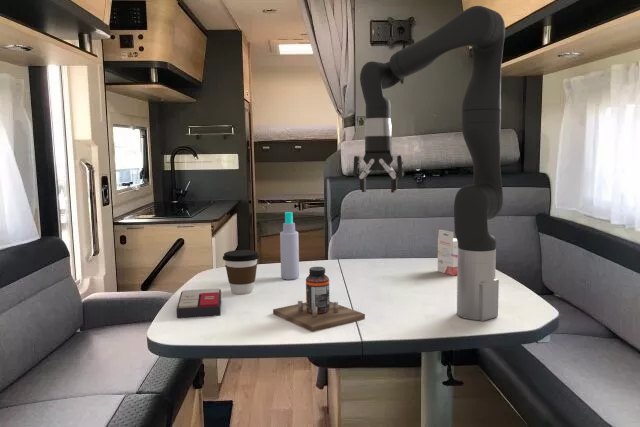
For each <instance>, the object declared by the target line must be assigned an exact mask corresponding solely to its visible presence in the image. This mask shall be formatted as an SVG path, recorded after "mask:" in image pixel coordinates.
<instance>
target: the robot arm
mask: <svg viewBox="0 0 640 427" xmlns="http://www.w3.org/2000/svg"><path fill="white" fill-rule="evenodd" d="M505 25H506V24H505V20H504V18H503V16H502V15H501V14H500V13H499V12H498V11H496V10H495V9H492V8H489V7H486V6H482V5H475V6H474V5H473V6H471V7H468V8H467V9H464V10H463V11H462V12H460V13H459V14H457V15H456V16H454V18H452V19H450V20H449V21H448V22H447V23H446V24H444V25H442V26H441V27H439V28H438V29H437V30H435V31H433V32H432V33H430V34H429V35H427V36H425V37H424V38H422V39H421V40H418V41H416V42H414V43H412V44H411V45H408V46H406V47H404V48H402V49H399V50H398V51H396V52H395V53H393V54H392V55H391V56H390V58H389V61H387V62H379V61H372V60H371V61H367V62H365V64H364V65H362V68H361V71H360V74H359V83H360V88H361V92H362V96H363V99H364V103H365V123H364V156H360V155H355V156H353V168H352V169H353V170H352V172H353V174H352V175H353V177H355V178H358V179H359V190H360V191H361V192H362V193H367V179H366V177H367V176H368V175H369V173H371V171H372V172H377V171H379V172H385V171H386V173H387V174H389V176H390V177H391V179H390V192H391V193H395V192H396V191H397V190H398V179H399V178H402V177H404V175H405V169H404V168H405V167H404V156H403V155H402V154H399V155H393V154H392V153H393V150H392V148H393V147H392V146H393V144H392V142H393V141H392V139H393V138H392V136H393V130H392V121H391V120H392V113H391V111H392V110H391V109H392V108H391V101H390V98H388V97H386V95H384V93H383V92H384V91H383V90H386V89H389V88H392V87H394V86H396V85H397V84H398V83H400V81H403V80H404V79H405V78H406V77H409V76H412V75H414V74H415V73H418V72H420V71H422V70H423V69H425V68H427V67H429V66H431V65H432V64H433V63H434V62H435V61H436V60H438V59H439V58H440V57H441V56H443V55H444V54H446V53H448V52H450V51H452V50H456V49H459V48H462V47H463V48H464V47H467V46H468V47H471V49H472V70H471V72H472V73H471V77H470V80H469V82H468V85H467V88H466V90H465V93H464V97H463V100H462V104H461V133H462V136H463V137H462V138H463V139H464V142H465V145H466V147H467V150H468V153H469V154H470V158H471V161H472V167H473V169H472V171H473V179H472V180H473V183H472V184H466V185H464V186H462V187H461V188H460V189H459V190H458V191H457V192H456V193H455V197H454V201H453V220H454V221H453V224H454V235H455V238H456V239H457V241H458V265H457V275H456V276H457V280H456V282H457V283H456V290H457V291H456V315H457V316H459V317H460V318H464V319H467V320H474V321H475V320H476V321H480V322H485V321H488V320H491V319H494V318H498V317H499V294H500V293H499V289H500V288H499V287H500V285H499V284H500V282H499V281H500V280H499V279H498V278H496V261H497V260H496V258H497V239H496V237H495V236H494V235H491V234H490V233H489V228H488V220H489V221H490V220H492V219H494V218H496V217H498V216H499V214H500V212H501V210H502V208H503V204H504V195H503V194H504V193H503V183H502V173H501V172H502V171H501V169H502V168H501V127H502V126H501V125H502V98H501V97H502V95H501V94H502V93H501V92H502V61H503V54H504V53H503V52H504V43H505V37H506V26H505ZM393 161H394V163H395V164H396V165H397V172H395V170H394V168H393V167H392V165H391V164H392V162H393ZM363 162H364V163H365V164H366V166H365V167H363V170H362V172H361V173H360V171H361V168H360V167H361V164H363Z"/></svg>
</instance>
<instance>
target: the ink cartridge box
mask: <svg viewBox="0 0 640 427" xmlns="http://www.w3.org/2000/svg"><path fill="white" fill-rule="evenodd" d="M437 234H438V235H437V272H439V273H443V274H446V275H451V276H453V277H454V276H457V265H458V241H457V239H456V237H455V238H454V235H455V232H454V231H450V230H445V229H438V233H437ZM445 234H446V235H445Z"/></svg>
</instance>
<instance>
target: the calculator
mask: <svg viewBox="0 0 640 427" xmlns="http://www.w3.org/2000/svg"><path fill="white" fill-rule="evenodd" d="M221 310H222V290H221V288H206V289H205V288H204V289H202V288H201V289H185V290H182V291H181V292H180V296H179V298H178V302H177V306H176V319H190V318H204V317H205V318H206V317H220V316H221Z"/></svg>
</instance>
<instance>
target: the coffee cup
mask: <svg viewBox="0 0 640 427" xmlns="http://www.w3.org/2000/svg"><path fill="white" fill-rule="evenodd" d="M259 258H260V254H259V253H258V252H257V251H256V250H251V249H236V250H230V251H226V252H225V253H223V256H222V260H223V261H224V262H225V270H226V275H227V280H228V283H229V287H230V291H231V293H232V294H233V295H248V294H251V293H253V290H254V287H255V282H256V276H257V275H256V274H257V268H258V267H257V266H258V260H259Z"/></svg>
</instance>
